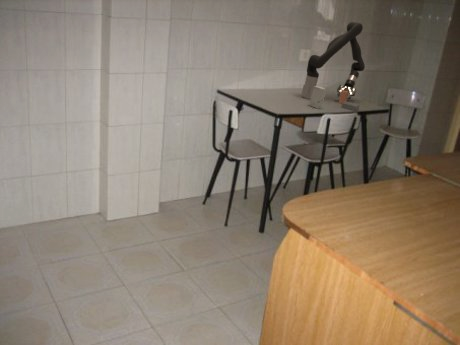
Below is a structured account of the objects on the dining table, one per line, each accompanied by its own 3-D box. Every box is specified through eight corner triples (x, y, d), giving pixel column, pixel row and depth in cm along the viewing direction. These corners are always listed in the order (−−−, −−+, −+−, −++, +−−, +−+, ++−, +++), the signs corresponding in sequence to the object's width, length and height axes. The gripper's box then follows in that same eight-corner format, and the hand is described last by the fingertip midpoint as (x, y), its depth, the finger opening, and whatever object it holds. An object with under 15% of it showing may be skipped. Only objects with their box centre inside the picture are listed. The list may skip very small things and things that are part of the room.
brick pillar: (344, 104, 372) (347, 92, 368) (338, 103, 373) (341, 90, 370) (345, 103, 375) (348, 91, 372) (340, 102, 377) (343, 90, 374)
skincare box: (308, 105, 346) (313, 85, 340) (312, 104, 350) (317, 85, 345) (318, 108, 341) (323, 88, 336) (322, 108, 346) (327, 88, 340)
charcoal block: (354, 111, 355) (356, 106, 353) (341, 108, 359) (342, 102, 358) (358, 109, 364) (359, 104, 363) (344, 106, 369) (346, 101, 367)
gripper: (342, 77, 376) (334, 92, 371) (359, 81, 371) (352, 97, 366) (342, 82, 383) (334, 98, 377) (359, 87, 377) (351, 102, 372)
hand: (343, 97), depth 372 cm, fingers open, 8 cm apart
